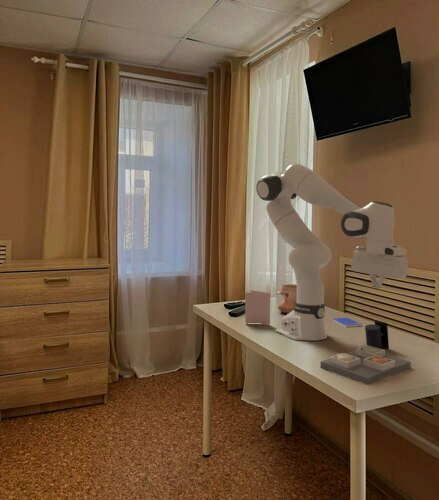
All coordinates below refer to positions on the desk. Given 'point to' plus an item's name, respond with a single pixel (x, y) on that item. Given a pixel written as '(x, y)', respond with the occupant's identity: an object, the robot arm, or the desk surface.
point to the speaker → (377, 335)
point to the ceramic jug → (288, 297)
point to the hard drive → (347, 322)
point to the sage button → (370, 349)
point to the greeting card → (257, 307)
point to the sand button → (345, 357)
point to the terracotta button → (379, 359)
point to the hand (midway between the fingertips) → (376, 287)
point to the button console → (365, 366)
